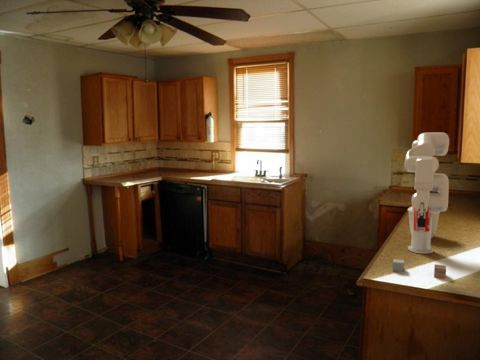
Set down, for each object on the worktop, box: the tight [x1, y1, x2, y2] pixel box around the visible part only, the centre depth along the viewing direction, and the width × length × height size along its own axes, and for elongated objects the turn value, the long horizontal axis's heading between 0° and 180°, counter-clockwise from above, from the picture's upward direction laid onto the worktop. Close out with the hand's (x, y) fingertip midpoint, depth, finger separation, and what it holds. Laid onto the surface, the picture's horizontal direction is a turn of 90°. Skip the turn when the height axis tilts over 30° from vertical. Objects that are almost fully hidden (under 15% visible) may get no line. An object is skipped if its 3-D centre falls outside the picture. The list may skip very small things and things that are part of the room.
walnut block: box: [433, 263, 447, 280], centre depth 181 cm, size 5×5×5 cm
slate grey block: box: [392, 258, 405, 274], centre depth 189 cm, size 5×5×5 cm
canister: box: [407, 206, 441, 239], centre depth 242 cm, size 18×18×21 cm
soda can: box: [413, 205, 431, 233], centre depth 182 cm, size 7×7×12 cm
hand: (421, 224), depth 182 cm, fingers closed on soda can, 7 cm apart
